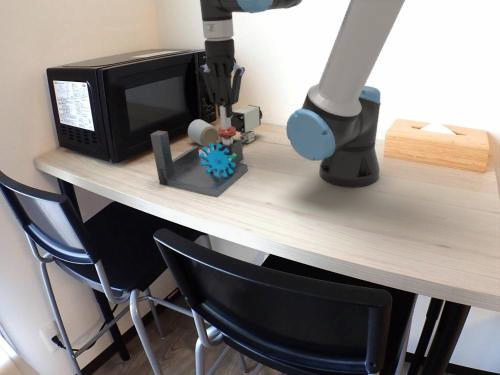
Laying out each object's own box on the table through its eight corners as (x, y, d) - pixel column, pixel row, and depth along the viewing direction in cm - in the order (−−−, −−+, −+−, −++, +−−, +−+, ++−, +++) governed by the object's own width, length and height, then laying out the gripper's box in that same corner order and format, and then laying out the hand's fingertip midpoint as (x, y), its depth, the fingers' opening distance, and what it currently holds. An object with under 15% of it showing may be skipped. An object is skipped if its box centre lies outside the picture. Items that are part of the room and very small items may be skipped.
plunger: (240, 156, 109) (238, 127, 105) (232, 163, 105) (229, 132, 101) (226, 154, 111) (223, 125, 107) (217, 160, 107) (214, 130, 103)
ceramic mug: (202, 150, 118) (199, 127, 114) (188, 144, 123) (186, 121, 120) (228, 142, 124) (227, 119, 120) (214, 136, 129) (212, 114, 126)
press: (258, 161, 108) (256, 115, 101) (217, 197, 90) (211, 143, 84) (206, 153, 115) (201, 109, 109) (159, 184, 98) (150, 134, 92)
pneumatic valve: (263, 137, 125) (262, 102, 120) (242, 148, 117) (239, 111, 112) (250, 134, 128) (248, 100, 123) (229, 145, 120) (226, 109, 115)
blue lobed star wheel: (209, 179, 91) (195, 144, 93) (200, 189, 95) (187, 155, 97) (245, 171, 97) (230, 138, 99) (235, 181, 102) (221, 149, 104)
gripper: (189, 40, 93) (199, 129, 104) (233, 40, 87) (240, 135, 98) (205, 36, 99) (214, 121, 110) (248, 36, 93) (253, 126, 104)
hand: (226, 128), depth 104 cm, fingers closed
